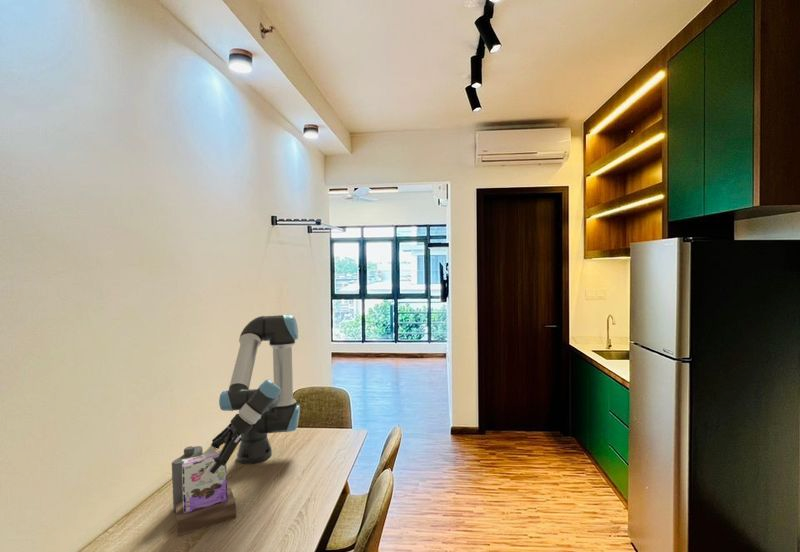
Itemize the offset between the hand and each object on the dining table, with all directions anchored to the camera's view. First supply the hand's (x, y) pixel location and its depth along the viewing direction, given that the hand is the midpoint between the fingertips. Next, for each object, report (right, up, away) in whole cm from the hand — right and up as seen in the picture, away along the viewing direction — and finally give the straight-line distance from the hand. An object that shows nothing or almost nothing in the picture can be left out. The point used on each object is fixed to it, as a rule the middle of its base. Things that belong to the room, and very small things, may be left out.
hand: (202, 471), depth 140 cm
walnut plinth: (+1, -17, +1) cm, 17 cm away
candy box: (+1, -12, +1) cm, 12 cm away
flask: (-10, -17, +12) cm, 23 cm away
